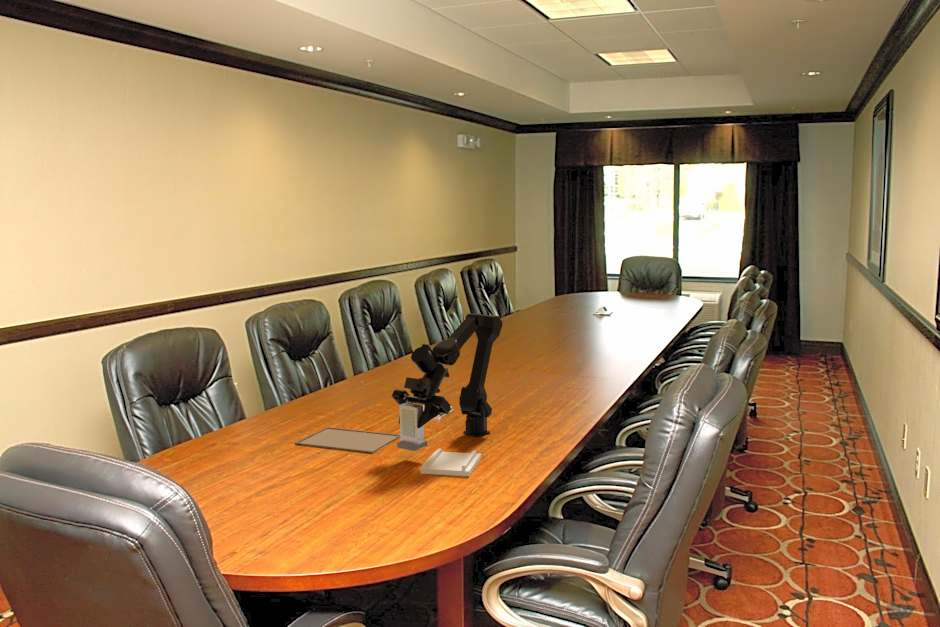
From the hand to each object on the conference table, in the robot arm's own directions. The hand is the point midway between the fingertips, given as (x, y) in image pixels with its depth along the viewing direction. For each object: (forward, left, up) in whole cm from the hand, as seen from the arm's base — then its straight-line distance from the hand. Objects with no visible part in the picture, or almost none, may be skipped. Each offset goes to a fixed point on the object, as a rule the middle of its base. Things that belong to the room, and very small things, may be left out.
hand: (408, 425), depth 243 cm
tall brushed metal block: (-1, 0, -7) cm, 7 cm away
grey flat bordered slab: (+2, -30, -11) cm, 32 cm away
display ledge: (-6, +12, -11) cm, 17 cm away
